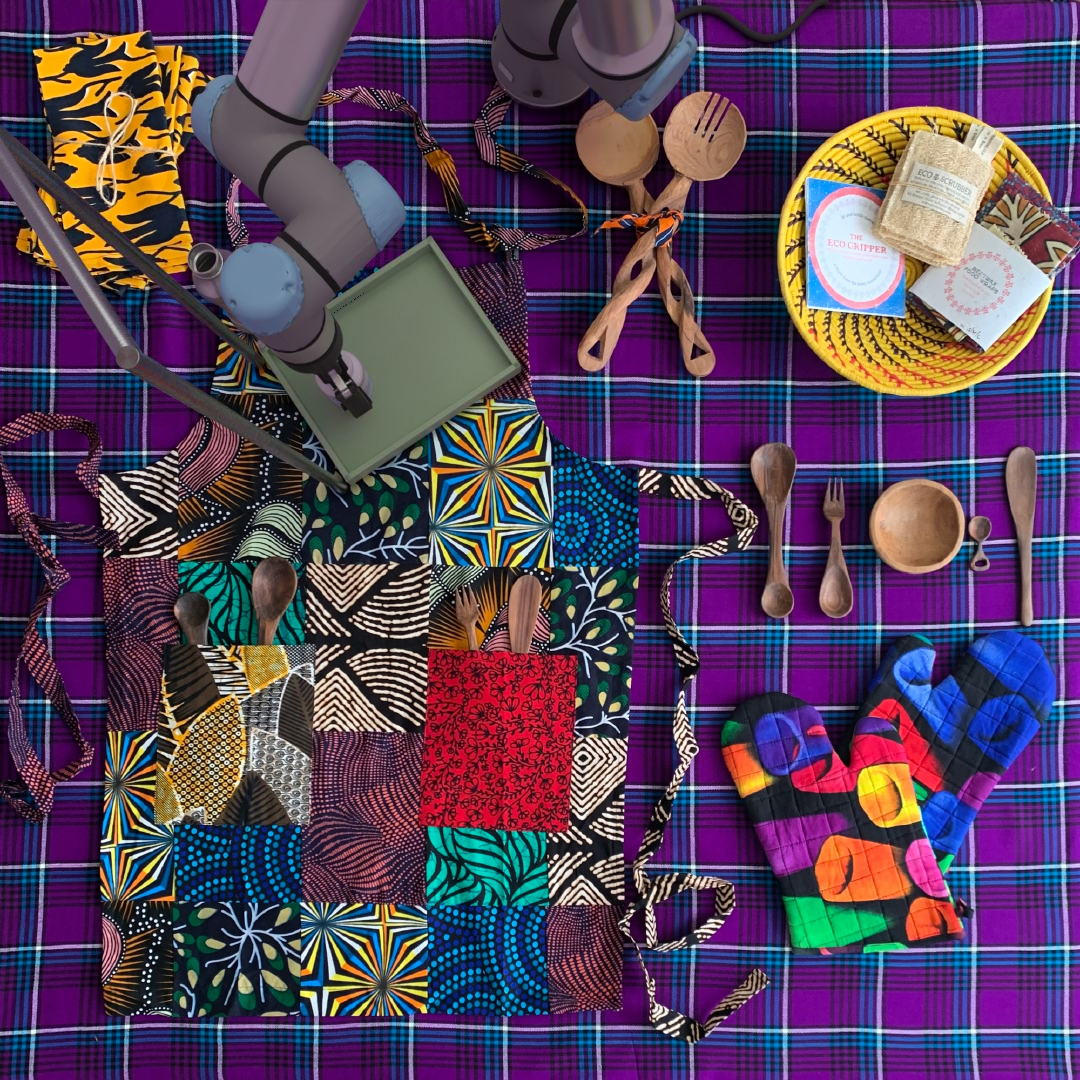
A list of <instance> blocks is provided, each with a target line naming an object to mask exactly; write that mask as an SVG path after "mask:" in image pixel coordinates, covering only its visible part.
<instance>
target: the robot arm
mask: <svg viewBox="0 0 1080 1080" xmlns="http://www.w3.org/2000/svg"><path fill="white" fill-rule="evenodd" d="M368 2H369V0H267V2H266V4H265V7H264V9H263V11H262V14H261V16H260V19H259V21H258V24H257V26H256V28H255V31H254V33H253V36H252V38H251V40H250V43H249V45H248V48H247V50H246V53H245V55H244V58H243V60H242V63H241V65H240V67H239V69H238V71H237V74H236V75H234V74H223V75H219V76H216V77H214V78H213V79H211V80H210V81H209V82H207V83H206V84H205V89H204V91H203V92H202V93H198V94H197V95H196V96H195V99H194V100H193V103H192V106H191V110H190V126H191V129H192V132H193V134H194V136H195V137H196V139H197V140H198V141H199V142H200V143H201V144H202V145H203V147H204V148H206V150H207V151H208V152H209V153H210V154H211V155H212V157H213V158H214V159H215V160H216V161H217V163H218V164H219V165H220V166H221V167H222V168H224V170H228V171H229V172H230V173H231V174H232V175H233V176H235V178H236V179H238V181H240V182H241V183H242V184H243V185H244V186H245V187H246V188H248V189H249V190H250V191H251V192H252V193H253V194H254V195H255V196H256V197H257V198H259V200H260V201H261V202H262V203H263V204H264V205H265V206H266V207H267V208H268V209H269V210H270V211H271V212H272V213H273V214H274V215H275V216H277V217H278V219H279V220H280V221H282V222H283V224H285V225H286V227H285V229H283V230H282V231H281V232H279V234H278V235H277V236H276V237H275V238H274V239H273V240H272V241H271V242H270V243H267V242H253V243H250V244H246V245H243V246H241V247H238V248H236V249H235V250H234V251H232V254H231V255H230V256H229V257H228V258H227V260H226V261H225V263H224V265H223V267H222V270H221V273H220V280H219V286H220V292H221V295H222V298H223V300H224V302H225V304H226V305H227V307H228V308H229V309H230V310H231V312H232V313H233V315H234V316H235V318H236V319H238V320H239V321H240V323H241V324H242V325H243V326H244V327H245V328H246V329H248V330H249V331H250V332H251V333H252V334H251V335H253V336H254V337H255V338H257V339H258V340H257V342H256V345H258V347H259V349H260V348H262V349H264V348H265V347H268V348H269V349H270V350H271V351H272V352H273V353H274V354H275V355H276V356H277V357H278V358H279V359H280V360H281V361H282V362H283V363H284V364H286V365H287V366H288V367H289V368H291V369H292V370H294V371H297V372H300V373H305V374H314V375H317V376H318V377H319V378H320V379H321V380H322V382H323V383H324V384H330V385H331V386H332V387H333V388H334V389H333V392H334V393H335V398H336V399H337V401H339V402H340V403H341V404H340V405H341V407H342V408H343V410H344V411H347V410H349V411H350V412H351V413H352V415H353V416H354V417H355V418H356V419H357V418H359V417H360V416H362V415H363V414H365V413H366V412H368V411H369V410H371V409H372V408H373V406H372V403H373V402H372V400H371V399H370V398H369V396H368V395H367V394H366V393H365V392H364V391H363V389H362V388H361V387H360V386H359V387H358V386H357V384H356V383H355V382H354V380H353V379H352V378H351V377H350V375H349V374H348V373H347V371H348V366H347V365H346V363H345V362H344V360H343V359H342V355H341V350H342V345H343V335H342V331H341V328H340V326H339V324H338V322H337V321H336V319H335V318H334V317H333V315H332V314H331V312H330V310H329V309H328V308H327V306H326V305H327V304H328V303H329V302H331V301H332V300H334V299H335V297H336V295H337V294H338V293H339V292H340V291H341V290H342V289H343V288H345V286H346V285H347V284H348V283H349V282H350V281H351V280H352V279H354V277H356V275H358V273H359V272H361V270H362V269H363V268H365V267H366V265H368V263H370V262H371V261H372V260H373V259H374V258H375V257H376V255H378V254H379V253H381V252H382V251H383V250H384V247H385V246H386V245H387V244H388V243H389V242H390V240H391V239H393V237H394V236H395V234H397V232H398V231H399V230H400V229H401V228H402V227H403V225H404V224H405V222H406V220H407V210H406V207H405V204H404V202H403V201H402V199H401V196H399V194H398V193H397V191H396V190H395V189H394V188H393V186H392V185H391V184H390V183H389V182H388V181H387V179H386V178H385V177H383V175H382V174H381V173H380V172H379V171H378V170H377V169H375V168H374V166H371V165H369V164H368V163H367V162H366V161H365V160H361V159H354V160H352V161H351V162H350V163H349V164H347V165H344V166H343V167H342V168H341V169H340V168H339V167H338V166H337V165H336V164H335V163H333V162H332V160H330V159H329V157H327V156H326V155H325V154H324V153H323V152H322V151H321V150H320V149H319V148H318V147H316V145H314V144H313V143H312V142H310V140H309V139H308V138H307V137H306V136H305V134H306V132H307V130H308V128H309V124H310V123H311V121H312V119H313V117H314V114H315V111H316V109H317V108H318V106H319V103H320V101H321V99H322V98H323V95H324V93H325V91H326V89H327V87H328V84H329V82H330V80H331V78H332V76H333V75H334V72H335V70H336V69H337V66H338V64H339V62H340V60H341V57H342V55H343V54H344V51H345V49H346V47H347V46H348V43H349V41H350V39H351V37H352V35H353V32H354V30H355V28H356V26H357V24H358V22H359V20H360V18H361V16H362V13H363V12H364V10H365V8H366V5H367V4H368ZM498 4H499V12H500V19H499V22H498V24H497V26H496V29H495V31H494V34H493V37H492V41H491V42H492V43H491V49H490V60H491V66H492V67H491V68H492V73H493V75H494V78H495V80H496V82H497V84H498V86H499V87H500V89H501V90H502V91H503V92H504V94H505V95H506V96H507V97H509V99H510V100H512V101H514V102H515V103H517V104H519V105H520V106H522V107H525V108H528V109H531V110H535V111H542V112H549V111H557V110H562V109H565V108H567V107H570V106H572V105H574V104H575V103H578V102H580V100H582V99H583V98H584V97H585V96H586V95H587V94H588V93H589V92H590V91H591V90H593V91H594V92H595V93H596V94H597V95H598V96H599V97H601V99H602V100H603V101H604V102H606V103H607V104H608V105H609V106H610V107H611V108H612V109H613V111H614V112H615V113H617V114H620V115H621V116H622V117H623V118H625V119H626V120H628V121H630V122H632V123H637V122H640V121H642V120H643V119H645V118H646V117H648V116H649V115H650V114H651V113H652V112H653V111H654V110H655V109H656V108H657V107H659V105H660V104H661V103H662V102H663V101H664V100H665V98H666V97H667V96H668V95H669V94H670V93H671V91H672V90H673V89H674V87H675V86H676V85H677V84H678V83H679V81H680V79H681V78H682V76H683V75H684V74H685V73H686V71H687V69H688V68H689V66H690V65H691V64H692V62H693V60H694V58H695V56H696V53H697V50H698V41H697V39H696V37H695V36H694V35H692V34H691V33H690V31H691V30H690V29H689V28H688V27H684V26H682V25H681V24H680V23H679V21H680V20H682V19H684V18H686V17H688V16H690V15H694V14H701V13H702V14H710V15H715V16H716V17H719V18H721V19H723V20H724V21H726V22H727V23H729V24H730V25H731V26H733V27H734V28H735V29H736V30H737V31H739V32H740V33H741V34H743V35H745V36H747V37H748V38H749V39H752V40H754V41H757V42H763V43H773V42H778V41H781V40H783V39H785V38H787V37H789V36H790V35H791V34H792V33H794V32H795V31H796V30H797V29H798V28H800V26H801V25H802V24H803V23H804V22H805V21H806V19H808V17H810V15H811V14H812V13H813V12H814V11H815V10H816V9H817V8H819V7H827V6H828V5H829V4H830V1H829V0H814V1H813V2H812V3H810V4H809V5H808V6H807V7H806V8H805V9H804V11H802V13H801V14H800V15H799V16H798V17H797V18H796V19H795V20H794V21H793V22H792V24H790V25H789V26H788V27H786V28H785V29H783V30H782V31H780V32H777V33H771V34H770V33H769V34H767V33H761V32H757V31H755V30H753V29H751V28H750V27H748V26H746V25H745V24H744V23H743V22H741V21H740V20H739V19H737V18H736V17H735V16H733V15H732V14H730V13H729V12H728V11H726V10H724V9H722V8H719V7H717V6H713V5H707V4H698V5H692V6H689V7H687V8H683V9H682V10H680V11H679V12H677V13H675V6H674V2H673V0H498ZM504 89H505V90H506V91H505V90H504ZM337 360H338V361H337Z"/></svg>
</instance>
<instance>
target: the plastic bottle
mask: <svg viewBox="0 0 1080 1080" xmlns="http://www.w3.org/2000/svg"><path fill="white" fill-rule="evenodd" d="M232 253H233V251H230V250H227V249H224V248H215V247H214V246H213V245H212V244H210V243H207V242H199V243H196V244H195V245H193V246H192V247H191V248H190V249H189V251H188V253H187V256H186V261H187V265H188V268H189V269H190V270H191V271H192V275H191V276H192V281H193V285H194V288H195V290H196V292H197V293H198V294H199V295H200V296H201V297H202V298H203V299H204V300H206V301H207V302H209V303H212V304H213V305H215V306H218V307H219V308H220V309H222V310H223V311H224V312H225V313H226V315H227V317H228V318H229V320H230V322H231V323H232V325H233V326H234V327H235V328H236V329H237V330H239V331H241V332H243V333H245V334H249V335H253V334H252V333H251V332H250V331H249V330H248V329H246V328H245V327H244V326H243V325H242V324H241V323H240V321H239V320H238V319H236V318H235V316H234V315H233V313H232V312H231V310H230V309H229V308H228V307H227V305H226V304H225V302H224V300H223V298H222V295H221V292H220V286H219V280H220V273H221V270H222V267H223V265H224V263H225V261H226V260H227V258H228V257H229V256H230V255H231V254H232Z"/></svg>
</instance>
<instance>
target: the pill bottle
mask: <svg viewBox="0 0 1080 1080" xmlns="http://www.w3.org/2000/svg"><path fill="white" fill-rule="evenodd" d="M341 355H342V359H343V360H344V362H345V363H346V365H347V366H348V371H347V373H348V374H349V375H350V377H351V378H352V379H353V380H354V382H355V383H356V384H357V386H358V387H359V386H360V387H361V388H362V389H363V391H364V392H365V393H366V394H367V395H368V396H369V398H371V396H372V393H373V381H372V378H371V376H370V375H369V373H368V372H367V371H366V369H365V368H364V367H363V365H362V364H361V363H360V361H359V360H358V359H357V358H356V357H355V356H354V355H353V354H351V353H350V352H347V351H344V350H341ZM337 361H338V360H337ZM315 378H316V382H317V384H318V386H319V387H320V389H321V390H322V391H323V392H324V393H325V394H326V395H327V396H328V397H329V398H330V399H331V400H332V401H333V402H334V403H335V404H336V405H337V406H338V407H340V408H342V407H341V405H340V404H341V403H340V402H339V401H337V399H336V398H335V393H334V392H333V389H334V388H333V387H332V386H331V385H330V384H324V383H323V382H322V380H321V379H320V378H319V377H318V376H317V375H315ZM342 409H343V408H342Z"/></svg>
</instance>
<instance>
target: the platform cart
mask: <svg viewBox="0 0 1080 1080" xmlns="http://www.w3.org/2000/svg"><path fill="white" fill-rule="evenodd" d="M0 181H1V183H2V184H3V185H4V187H5V189H6V190H7V192H8V193H9V195H10V196H11V198H12V199H13V201H14V203H15V205H16V206H17V207H18V209H19V210H20V212H21V213H22V215H23V217H25V219H26V221H27V222H28V224H29V226H30V228H32V230H33V232H34V234H35V235H36V236H37V238H38V240H39V241H40V243H41V244H42V246H43V247H44V249H45V250H46V252H47V254H48V255H49V256H50V258H51V259H52V261H53V262H54V264H55V266H56V268H57V269H58V270H59V272H60V274H61V275H62V277H63V278H64V279H65V281H66V282H67V285H68V286H69V287H70V289H71V291H72V292H73V293H74V296H76V298H77V299H78V301H79V303H80V304H81V306H82V307H83V309H84V310H85V312H86V313H87V315H88V316H89V319H91V321H92V323H93V324H94V326H95V327H96V329H97V331H98V332H99V333H100V334H101V336H102V338H103V340H104V341H105V342H106V344H107V346H108V347H109V349H110V351H111V352H112V354H113V355H114V357H115V361H116V364H117V366H119V367H120V368H121V369H123V370H124V371H126V372H128V373H130V374H132V375H134V376H135V377H137V378H139V379H141V380H142V381H143V382H145V383H147V384H149V385H151V386H152V387H154V388H156V389H158V390H159V391H161V392H163V393H164V394H166V395H167V396H169V397H171V398H173V399H175V400H177V401H179V402H180V403H182V404H183V405H186V406H187V407H188V408H191V409H192V410H194V411H196V412H197V413H199V414H201V415H202V416H205V417H206V418H208V419H210V420H212V421H214V423H217V424H219V425H220V426H222V427H224V428H225V429H227V430H228V431H231V432H232V433H234V434H236V435H238V436H240V437H241V438H243V439H244V440H247V442H250V443H252V444H254V445H255V446H257V447H258V448H260V449H262V450H264V451H265V452H268V453H269V454H271V455H272V456H274V457H275V458H278V459H280V460H281V461H282V462H285V463H287V464H288V465H290V466H291V467H293V468H295V469H296V470H299V471H300V472H302V473H304V474H306V475H307V476H309V477H311V478H312V479H314V480H316V481H318V482H320V483H321V484H323V485H325V486H326V487H328V488H330V489H332V490H333V491H335V492H337V493H338V494H342V495H343V494H346V493H347V492H348V490H349V486H348V484H349V485H350V486H353V485H354V484H355V483H357V482H359V481H360V480H362V479H363V478H364V477H366V476H367V475H370V474H371V473H372V472H373V471H375V470H377V469H378V468H380V467H381V466H382V465H384V464H385V463H387V462H389V461H390V460H391V459H393V458H394V457H395V456H397V455H399V454H401V453H402V452H404V451H405V450H406V449H408V448H409V447H411V446H412V445H414V444H415V443H417V442H419V441H420V440H421V439H423V438H425V437H426V436H428V435H429V434H431V433H432V432H433V431H434V430H436V429H438V428H439V427H441V426H443V425H444V424H446V423H447V422H448V421H450V420H452V419H453V418H454V417H456V416H457V415H459V414H460V413H462V412H463V411H465V410H466V409H468V408H469V407H471V406H472V405H474V404H476V403H477V402H478V401H479V400H482V399H483V398H484V397H486V396H487V395H490V393H492V392H493V391H495V390H496V389H498V388H499V387H501V386H502V385H503V384H505V383H507V382H509V381H510V380H511V379H513V378H514V377H515V376H517V375H518V374H520V373H522V365H521V363H520V362H519V361H518V359H517V358H516V356H515V355H514V354H513V353H512V351H511V349H510V348H509V346H508V345H507V343H506V342H505V340H504V339H503V338H502V336H501V335H500V334H499V332H498V331H497V329H496V328H495V326H494V325H493V323H492V322H491V320H490V319H489V318H488V316H487V315H486V313H485V311H484V310H483V309H482V307H481V306H480V304H479V303H478V302H477V300H476V299H475V297H474V296H473V294H472V292H471V291H470V290H469V289H468V287H467V286H466V284H465V283H464V282H463V280H462V278H461V277H460V276H459V274H458V272H457V271H456V270H455V268H454V267H453V266H452V264H451V263H450V261H449V260H448V258H447V256H446V255H445V254H444V253H443V251H442V250H441V248H440V247H439V245H438V244H437V243H436V241H435V240H434V238H433V236H432V235H429V236H428V237H426V238H425V239H423V240H421V241H420V242H418V243H417V244H416V245H414V246H412V247H411V248H410V249H408V250H406V251H405V252H404V253H402V254H400V255H399V256H397V257H396V258H395V259H393V260H391V261H389V262H388V263H387V264H385V265H383V266H382V267H381V268H379V269H377V270H376V271H375V272H373V273H371V274H370V275H369V276H367V277H366V278H364V279H363V280H361V281H359V282H358V283H356V284H355V285H353V286H352V287H351V288H349V289H347V290H346V291H344V292H343V293H341V294H340V295H338V296H336V297H334V298H333V299H332V300H331V301H330V302H329V303H328V304H327V305H326V306H327V308H328V309H329V310H330V312H331V314H332V315H333V317H334V318H335V319H336V321H337V322H338V324H339V326H340V328H341V331H342V335H343V345H342V350H344V351H347V352H350V353H351V354H353V355H354V356H355V357H356V358H357V359H358V360H359V361H360V363H361V364H362V365H363V367H364V368H365V369H366V371H367V372H368V373H369V375H370V376H371V378H372V381H373V393H372V396H371V398H370V399H371V400H372V402H373V403H372V406H373V408H372V409H371V410H369V411H368V412H366V413H365V414H363V415H362V416H360V417H359V418H357V419H356V418H355V417H354V416H353V415H352V413H351V412H350V411H349V410H347V411H344V410H343V409H342V408H340V407H338V406H337V405H336V404H335V403H334V402H333V401H332V400H331V399H330V398H329V397H328V396H327V395H326V394H325V393H324V392H323V391H322V390H321V389H320V387H319V386H318V384H317V382H316V378H315V375H314V374H305V373H300V372H297V371H294V370H292V369H291V368H289V367H288V366H287V365H286V364H284V363H283V362H282V361H281V360H280V359H279V358H278V357H277V356H276V355H275V354H274V353H273V352H272V351H271V350H270V349H269V348H268V347H265V348H264V349H262V348H260V347H259V348H258V351H259V352H260V353H258V352H257V351H256V350H255V349H254V348H252V346H250V345H249V344H248V343H247V342H245V341H244V339H243V338H241V337H240V336H239V335H238V334H237V333H235V331H233V330H232V329H231V328H230V327H229V326H227V324H225V322H223V321H222V320H221V319H220V318H219V317H218V316H217V315H216V314H214V312H212V311H211V310H210V309H208V308H207V307H206V305H204V304H203V303H202V302H201V301H199V299H197V297H195V296H194V295H193V294H192V293H191V292H190V291H188V290H187V289H186V288H185V287H184V286H183V285H182V284H180V283H179V282H178V281H177V280H176V279H175V278H174V277H173V276H171V275H170V274H169V273H168V272H167V271H166V270H164V269H163V268H162V267H161V266H160V265H159V264H157V262H155V261H154V260H153V259H152V258H151V257H150V256H149V255H148V254H147V253H145V251H144V250H142V249H141V248H140V247H138V245H136V244H135V243H134V242H133V241H132V240H131V239H130V238H129V237H127V236H126V235H125V234H124V233H123V232H122V231H120V230H119V228H117V227H116V226H115V225H114V224H113V223H112V222H110V221H109V220H108V219H107V218H106V217H105V216H103V215H102V213H101V212H99V211H98V210H97V209H96V208H95V207H94V206H93V205H91V204H90V203H89V202H88V200H86V199H84V198H83V197H82V196H81V195H80V194H79V193H78V192H76V190H74V189H73V188H72V187H71V186H70V185H69V184H67V183H66V181H64V180H63V179H62V178H61V177H60V176H58V174H56V173H55V172H54V171H53V170H52V169H51V168H50V167H49V166H47V164H45V163H44V162H43V161H41V159H40V158H38V157H37V156H36V155H35V154H34V153H33V152H32V151H31V150H30V149H28V148H27V147H26V146H25V145H24V144H22V143H21V141H20V140H18V139H17V138H16V137H15V136H13V134H11V132H9V131H8V130H6V128H5V127H4V126H2V125H1V124H0ZM33 183H34V184H36V185H37V186H38V187H39V188H40V189H41V190H43V191H44V192H45V193H46V194H47V195H49V196H50V197H51V198H52V199H53V200H55V201H56V202H57V203H58V204H60V206H62V207H63V208H64V209H65V210H67V212H69V213H70V214H72V216H74V217H75V218H76V219H78V220H79V221H80V222H81V223H82V224H83V225H85V226H86V227H87V228H88V229H89V230H90V231H92V232H93V233H94V234H95V235H96V236H98V237H99V238H100V239H102V241H104V242H105V243H106V244H107V245H109V247H111V248H112V249H113V250H114V251H116V252H117V253H118V254H120V256H121V257H123V258H124V259H125V260H127V261H128V262H129V263H130V264H131V265H133V266H134V267H135V268H136V269H137V270H138V271H139V272H141V273H142V274H143V275H145V277H147V278H148V279H149V280H150V281H151V282H153V283H154V284H155V285H156V286H157V287H158V288H160V289H161V290H162V291H164V292H165V293H166V294H167V295H168V296H169V297H171V299H173V300H174V301H176V302H177V303H178V304H179V305H180V306H182V307H183V308H184V309H185V310H186V311H187V312H189V313H190V315H192V316H193V317H194V318H196V319H197V320H198V321H200V322H201V323H202V324H203V325H204V326H205V327H207V328H208V329H209V330H210V331H211V332H213V333H214V334H215V335H216V336H217V337H219V339H221V340H222V341H224V342H225V343H226V344H227V345H228V346H229V347H231V348H232V349H233V350H234V351H236V353H238V354H239V355H240V356H241V357H242V358H244V359H245V360H246V361H247V362H249V363H250V364H251V365H252V366H253V367H255V368H256V369H261V368H263V367H265V364H266V363H267V365H268V366H269V368H270V369H271V370H272V372H273V374H274V375H275V377H276V378H277V380H278V381H279V382H280V384H281V385H282V387H283V389H284V390H285V391H286V394H288V396H289V398H290V399H291V401H292V403H293V404H294V405H295V407H296V408H297V410H298V412H299V413H300V414H301V416H302V417H303V418H304V420H305V422H306V423H307V425H308V426H309V428H310V429H311V431H312V432H313V434H314V435H315V437H316V438H317V441H318V442H319V443H320V444H321V446H322V447H323V449H324V451H325V452H326V453H327V455H328V456H329V458H330V459H331V461H332V462H333V464H334V465H335V467H336V468H337V471H339V473H340V474H341V476H342V478H343V479H344V480H345V481H344V480H342V479H341V478H339V477H337V476H336V475H335V474H333V473H331V472H330V471H328V470H327V469H325V468H323V467H322V466H320V465H318V464H317V463H316V462H314V461H312V460H311V459H310V458H308V457H306V456H305V455H303V454H302V453H300V452H299V451H297V450H295V449H294V448H292V447H291V446H289V445H288V444H286V443H285V442H283V441H281V440H280V439H278V438H277V437H275V436H274V435H272V434H271V433H269V432H267V431H265V430H264V429H263V428H261V427H260V426H258V425H256V424H255V423H253V422H252V421H250V420H248V418H247V419H246V417H243V416H242V415H241V414H239V413H238V412H236V411H235V410H233V409H231V408H230V407H228V406H227V405H225V404H223V403H222V402H221V401H219V400H217V399H216V398H214V397H213V396H211V395H209V394H208V393H206V392H204V391H203V390H202V389H200V388H198V387H197V386H196V385H194V384H193V383H190V382H189V381H188V380H186V379H184V378H183V377H181V376H180V375H178V374H177V373H175V372H174V371H172V370H170V369H169V368H167V367H166V366H164V365H162V364H161V363H160V362H158V361H157V360H155V359H153V358H152V357H150V356H148V355H147V354H145V353H144V352H143V351H142V350H141V348H140V347H139V346H138V344H137V342H136V341H135V339H134V337H133V336H132V334H131V333H130V332H129V330H128V328H127V326H126V325H125V324H124V322H123V321H122V319H121V318H120V316H119V315H118V313H117V312H116V310H115V309H114V307H113V306H112V304H111V302H110V301H109V299H108V298H107V296H106V295H105V293H104V291H103V290H102V288H101V287H100V286H99V284H98V282H97V281H96V279H95V278H94V276H93V275H92V273H91V271H90V270H89V269H88V267H87V265H86V264H85V262H84V261H83V259H82V258H81V256H80V255H79V253H78V252H77V251H76V249H75V247H74V246H73V244H72V243H71V241H70V240H69V238H68V237H67V235H66V234H65V232H64V230H63V229H62V228H61V226H60V224H59V223H58V221H57V220H56V218H55V216H54V215H53V214H52V212H51V210H50V209H49V208H48V206H47V204H46V203H45V201H44V199H43V198H42V197H41V195H40V193H39V192H38V190H37V189H36V188H35V186H34V185H33ZM363 293H364V294H363ZM360 295H361V296H360ZM358 296H359V297H358ZM357 297H358V298H357ZM355 298H356V299H355ZM354 299H355V300H354ZM351 301H352V302H351ZM349 302H350V303H349ZM348 303H349V304H348ZM346 304H347V305H346ZM345 305H346V306H345ZM343 306H344V307H343ZM340 308H341V309H340ZM337 310H338V311H337ZM334 312H335V313H334ZM260 354H261V355H260Z"/></svg>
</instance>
